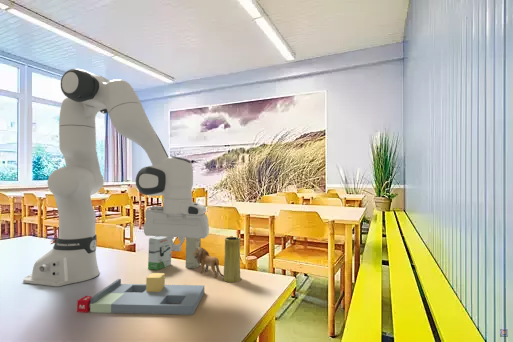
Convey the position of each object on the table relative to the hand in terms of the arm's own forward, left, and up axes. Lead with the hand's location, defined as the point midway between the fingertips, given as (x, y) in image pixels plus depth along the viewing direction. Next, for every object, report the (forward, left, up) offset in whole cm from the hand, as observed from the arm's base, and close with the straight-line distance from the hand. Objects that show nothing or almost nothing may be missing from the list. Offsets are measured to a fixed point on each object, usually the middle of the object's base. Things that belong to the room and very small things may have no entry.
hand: (175, 250), depth 90 cm
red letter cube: (-19, -15, -12) cm, 27 cm away
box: (0, +23, -12) cm, 26 cm away
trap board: (-4, -9, -12) cm, 16 cm away
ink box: (-13, +22, -12) cm, 29 cm away
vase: (+17, +10, -12) cm, 23 cm away
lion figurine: (+7, +15, -12) cm, 21 cm away
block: (-4, -6, -10) cm, 12 cm away
